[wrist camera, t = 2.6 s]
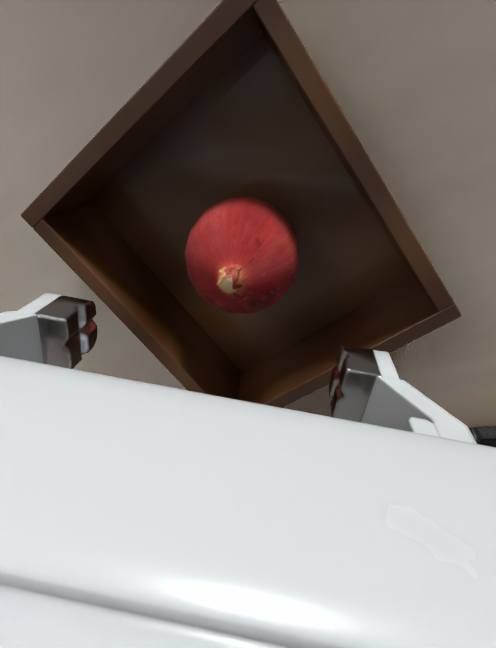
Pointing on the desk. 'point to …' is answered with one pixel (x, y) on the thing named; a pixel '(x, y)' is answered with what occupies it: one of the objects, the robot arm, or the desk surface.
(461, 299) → the desk surface
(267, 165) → the wooden box
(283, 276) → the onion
